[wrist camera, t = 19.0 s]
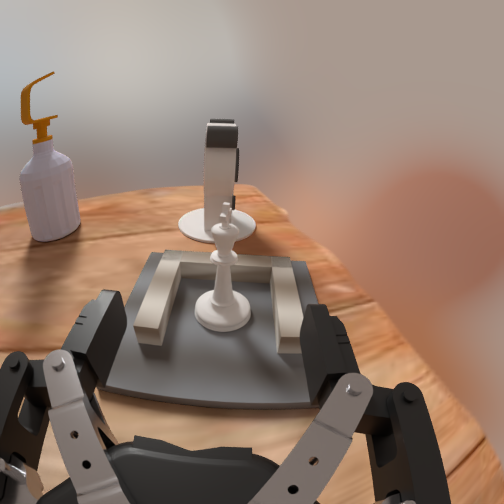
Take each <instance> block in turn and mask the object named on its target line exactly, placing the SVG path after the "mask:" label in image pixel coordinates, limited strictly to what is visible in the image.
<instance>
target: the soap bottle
mask: <svg viewBox="0 0 504 504" xmlns="http://www.w3.org/2000/svg"><path fill="white" fill-rule="evenodd" d="M53 74H54V72H51V73H49V74H47V75H45V76H43V77H41V78H39V79H37V80H35V81H33V82H32V83H30V84H29V85H27V86H26V87H25V88H24V89H23V91H22V92H21V120H22V123H23V124H25V125H28V124H33V129H37V139H34V140H33V156H32V158H31V159H30V161H28V162H27V164H26V165H25V166H24V168H23V169H22V171H21V173H20V185H21V191H22V195H23V201H24V206H25V210H26V215H27V219H28V223H29V227H30V231H31V234H32V237H33V238H34V239H35V240H37V241H44V242H47V241H53V240H57V239H60V238H63V237H65V236H67V235H69V234H70V233H72V232H73V231H74V230H76V229H77V228H78V226H79V225H80V213H79V208H78V201H77V195H76V188H75V181H74V172H73V164H72V162H71V160H70V158H68V157H67V156H65V155H64V154H62V153H59V152H56V151H55V150H54V148H53V140H52V135H49V136H47V126H49V125H50V119H53V118H57V117H58V116H57V115H55V116H50V117H46V118H42V119H38V120H32V119H31V116H30V91H31V88H32V86H33V85H34V84H36V83H37V82H39V81H41V80H43V79H45V78H47V77H49V76H50V75H53Z"/></svg>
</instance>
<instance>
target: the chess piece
mask: <svg viewBox="0 0 504 504" xmlns="http://www.w3.org/2000/svg"><path fill="white" fill-rule="evenodd" d="M231 214H232V208H230V203H227V202H224V203H223V204H222V213H221V215H220V217H219V222H222V223H219V224H216V225H214V226H213V227H212V229H211V233H212V236H213V238H214V241H215V245H216V248H217V250H216V251H214V252H212V254H211V256H210V260H211V262H212V263H213V264H215V265H218V266H217V274H216V280H215V287H214V290H211V291H208V292H206V293H204V294H203V295H201V296H200V297H199V298H198V300H197V302H196V304H195V317H196V319H197V321H198V322H199V323H200V324H201V325H202V326H204V327H206V328H208V329H210V330H213V331H218V332H229V331H234V330H237V329H239V328H241V327H243V326H244V325H245V324H246V323H247V322H248V321H249V319H250V316H251V310H250V304H249V302H248V300H247V299H246V298H245V297H244V296H243V295H242V294H240V293H238V292H236V291H233V290H232V282H231V271H230V266H231V265H234V264H235V263H236V262H237V261H238V257H237V254H236V253H235V252H234V251H232V248H233V246H234V243H235V240H236V238H237V236H238V234H239V229H238V228H237V227H236V226H235V225H233V224H230V223H229V217H230V215H231Z"/></svg>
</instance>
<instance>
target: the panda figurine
mask: <svg viewBox="0 0 504 504" xmlns="http://www.w3.org/2000/svg"><path fill="white" fill-rule="evenodd" d="M237 141H238V127H236V124H234V120H231V119H210V123H208V124H207V129H206V139H205V154H204V208H202V209H197V210H194V211H191V212H189V213H187V214H185V215H184V216H182V217H181V218H180V220H179V223H178V225H179V230H180V231H181V233H182V234H184V235H185V236H187V237H189V238H191V239H193V240H196V241H200V242H206V243H215V241H214V238H213V236H212V233H211V229H212V227H213V226H214V225H216V224H219V223H222V222H219V217H220V215H221V213H222V204H223V203H224V202H227V203H230V208H232V214H231V215H230V217H229V223H230V224H233V225H235V226H236V227H237V228H238V229H239V234H238V236H237V238H236V240H235V242H236V241H239V240H242V239H245V238H247V237H249V236H250V235H251V234H252V233H253V232H254V231H255V226H256V224H255V221H254V219H253V218H252V217H250V216H249V215H247V214H246V213H243V212H241V211H238V210H235V196H233V190H234V182H237V181H238V168H239V148H237Z"/></svg>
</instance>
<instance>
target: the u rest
mask: <svg viewBox="0 0 504 504" xmlns="http://www.w3.org/2000/svg"><path fill="white" fill-rule="evenodd" d="M211 254H212V253H210V252H193V251H177V250H165V252H164V253H155V252H151V254H150V256H149V258H148V260H147V262H146V264H145V266H144V268H143V270H142V272H141V274H140V276H139V278H138V280H137V282H136V284H135V286H134V288H133V290H132V292H131V294H130V296H129V299H128V301H127V303H126V305H125V307H124V308H125V312H126V316H127V328H126V331H125V334H124V336H123V339H122V341H121V344H120V347H119V349H118V352H117V355H116V357H115V360H114V363H113V366H112V368H111V371H110V374H109V377H108V380H107V383H106V386H105V388H102V387H97V386H96V387H97V389H99V390H104V391H108V392H112V393H117V394H121V395H126V396H131V397H137V398H142V399H148V400H154V401H161V402H168V403H175V404H183V405H192V406H203V407H216V408H233V409H299V408H317V407H319V405H311V404H310V398H309V392H308V386H307V380H306V374H305V368H304V363H303V357H302V352H301V346H300V328H301V325H302V321H303V317H304V314H305V310H306V307H307V305H308V304H318V301H317V298H316V294H315V291H314V288H313V284H312V281H311V278H310V275H309V271H308V268H307V265H306V262H305V261H291V260H290V257H277V256H260V255H243V254H237V257H238V261H237V262H236V263H235V264H234V265H231V266H230V271H231V282H232V290H233V291H236V292H238V293H240V294H242V295H243V296H244V297H245V298H246V299H247V300H248V302H249V304H250V310H251V316H250V319H249V321H248V322H247V323H246V324H245V325H244V326H243V327H241V328H239V329H237V330H234V331H229V332H218V331H213V330H210V329H208V328H206V327H204V326H202V325H201V324H200V323H199V322H198V321H197V319H196V317H195V304H196V302H197V300H198V298H199V297H200V296H201V295H203V294H204V293H206V292H208V291H211V290H214V287H215V280H216V274H217V266H218V265H215V264H213V263H212V262H211V260H210V256H211Z"/></svg>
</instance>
